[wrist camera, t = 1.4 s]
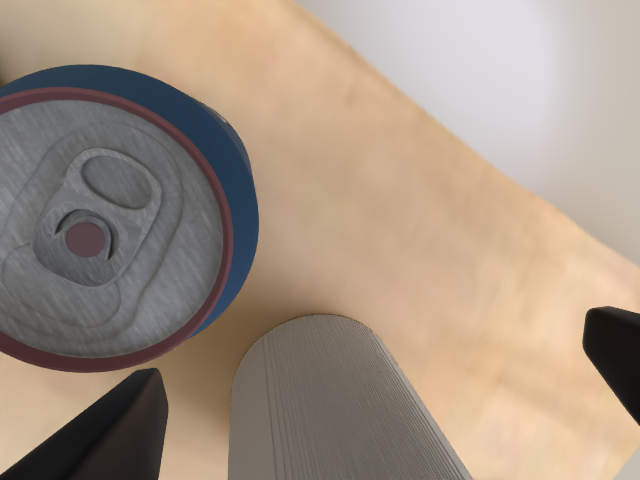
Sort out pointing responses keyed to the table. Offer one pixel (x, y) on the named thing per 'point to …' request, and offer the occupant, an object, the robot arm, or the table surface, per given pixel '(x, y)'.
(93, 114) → the soda can
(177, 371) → the table surface
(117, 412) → the robot arm
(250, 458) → the cup
